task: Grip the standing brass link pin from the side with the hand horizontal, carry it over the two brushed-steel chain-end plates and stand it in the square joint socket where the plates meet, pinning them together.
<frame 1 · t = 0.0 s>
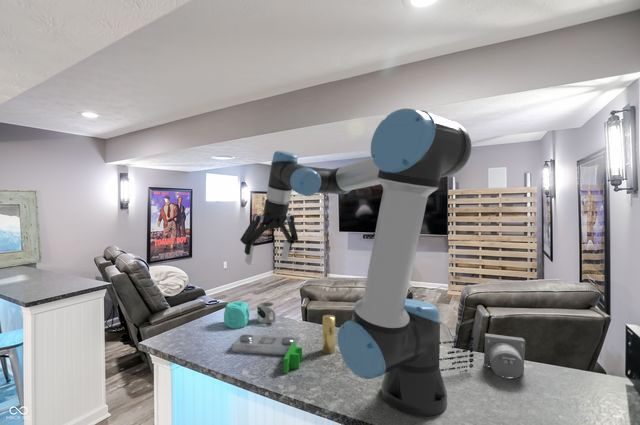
hand: (266, 261, 107), 28 cm above the counter, tool tilted 20°, fingers open, 13 cm apart
pipe clamp: (293, 366, 93), on the counter, touching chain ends
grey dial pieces: (480, 375, 89), on the counter
decorative dice: (236, 325, 125), on the counter
mug: (267, 322, 129), on the counter
link pin: (328, 351, 102), on the counter
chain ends: (267, 348, 104), on the counter
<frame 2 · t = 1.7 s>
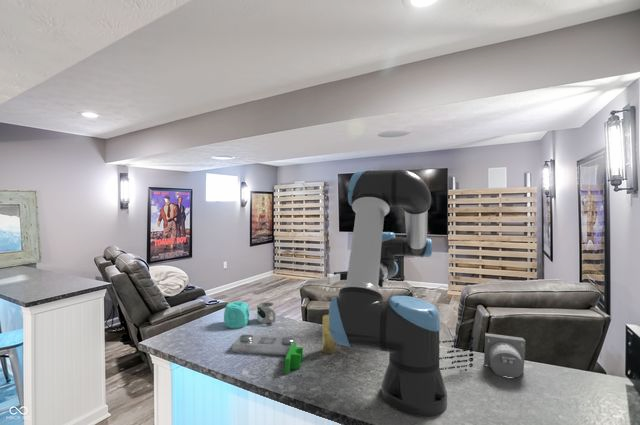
hand: (345, 283, 110), 20 cm above the counter, tool horizontal, fingers open, 13 cm apart
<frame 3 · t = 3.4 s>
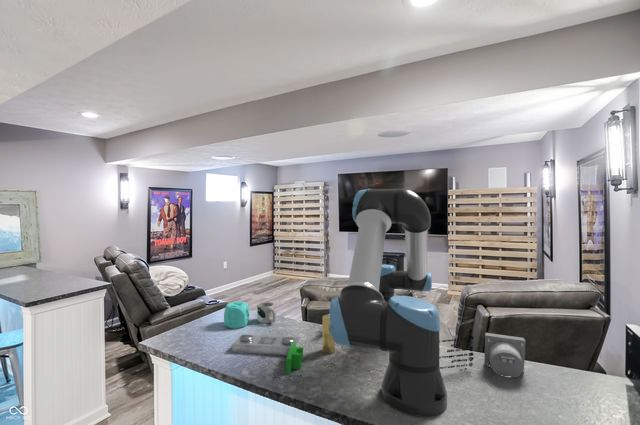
hand: (344, 323, 109), 6 cm above the counter, tool horizontal, fingers open, 13 cm apart
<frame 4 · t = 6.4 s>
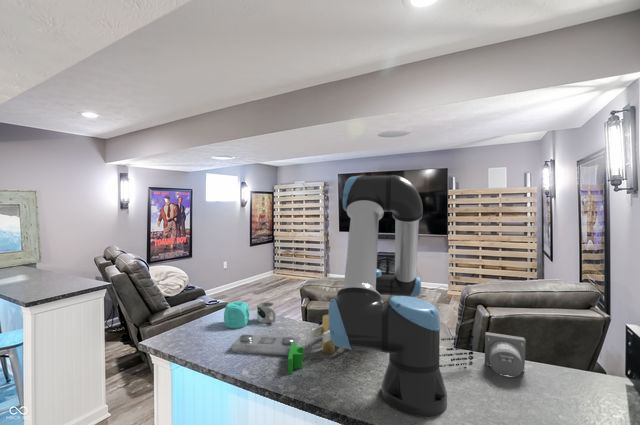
hand: (318, 336, 98), 7 cm above the counter, tool horizontal, fingers closed on link pin, 4 cm apart
link pin: (328, 351, 102), on the counter, touching gripper
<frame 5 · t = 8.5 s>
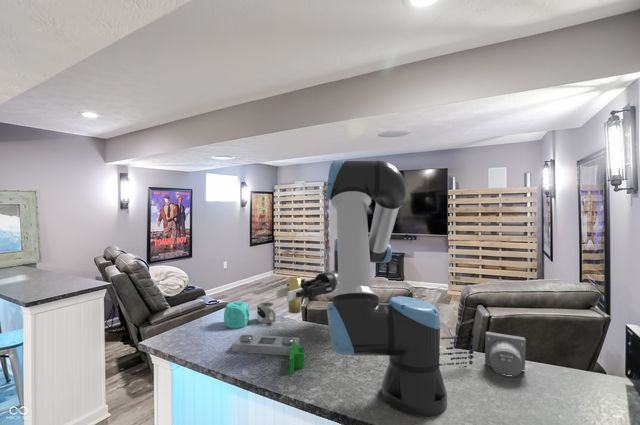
hand: (282, 295, 101), 18 cm above the counter, tool horizontal, fingers closed on link pin, 4 cm apart
link pin: (294, 311, 105), point 12 cm above the counter, touching gripper
when the fingers open (10 cm above the counter, at t = 10.8 s): link pin drops 3 cm, resting in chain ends.
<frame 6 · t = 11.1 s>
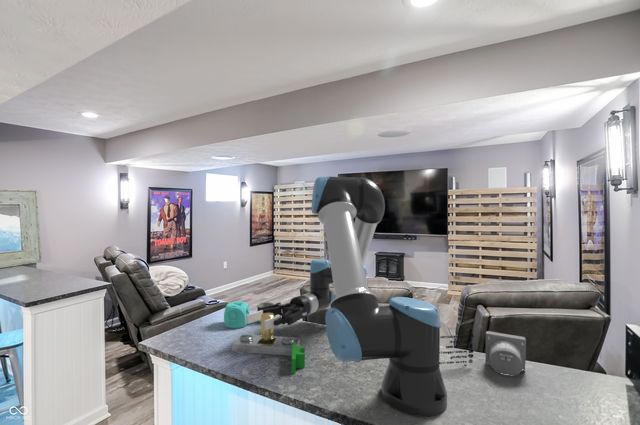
hand: (255, 322, 100), 10 cm above the counter, tool horizontal, fingers open, 8 cm apart
link pin: (267, 348, 104), resting in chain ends
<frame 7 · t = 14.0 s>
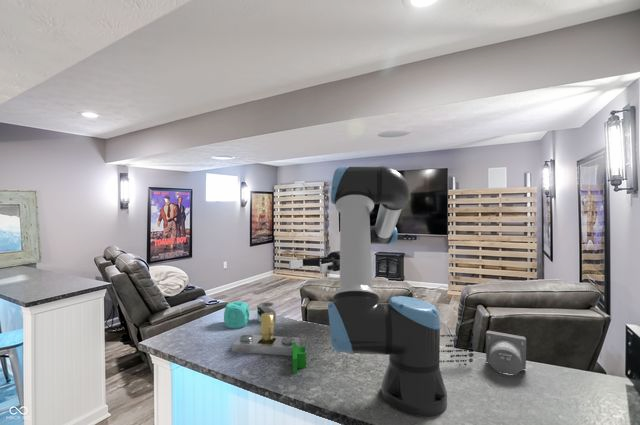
hand: (304, 266, 110), 26 cm above the counter, tool horizontal, fingers open, 13 cm apart
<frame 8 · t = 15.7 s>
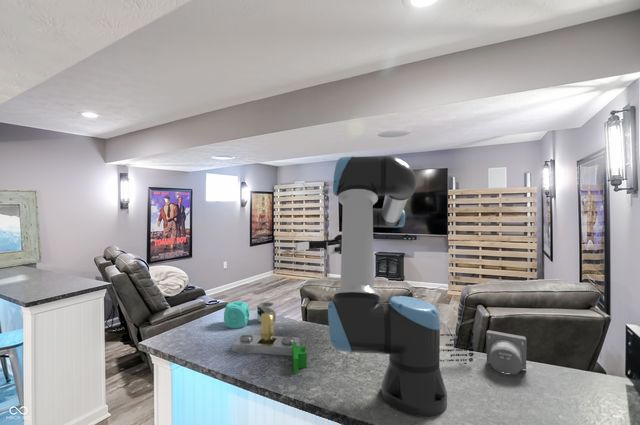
hand: (311, 248, 108), 32 cm above the counter, tool horizontal, fingers open, 13 cm apart
at the end: link pin 0.1 cm off-centre on the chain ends, point 0.0 cm above the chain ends's base; link pin tilted 0°; the gripper is holding nothing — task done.
